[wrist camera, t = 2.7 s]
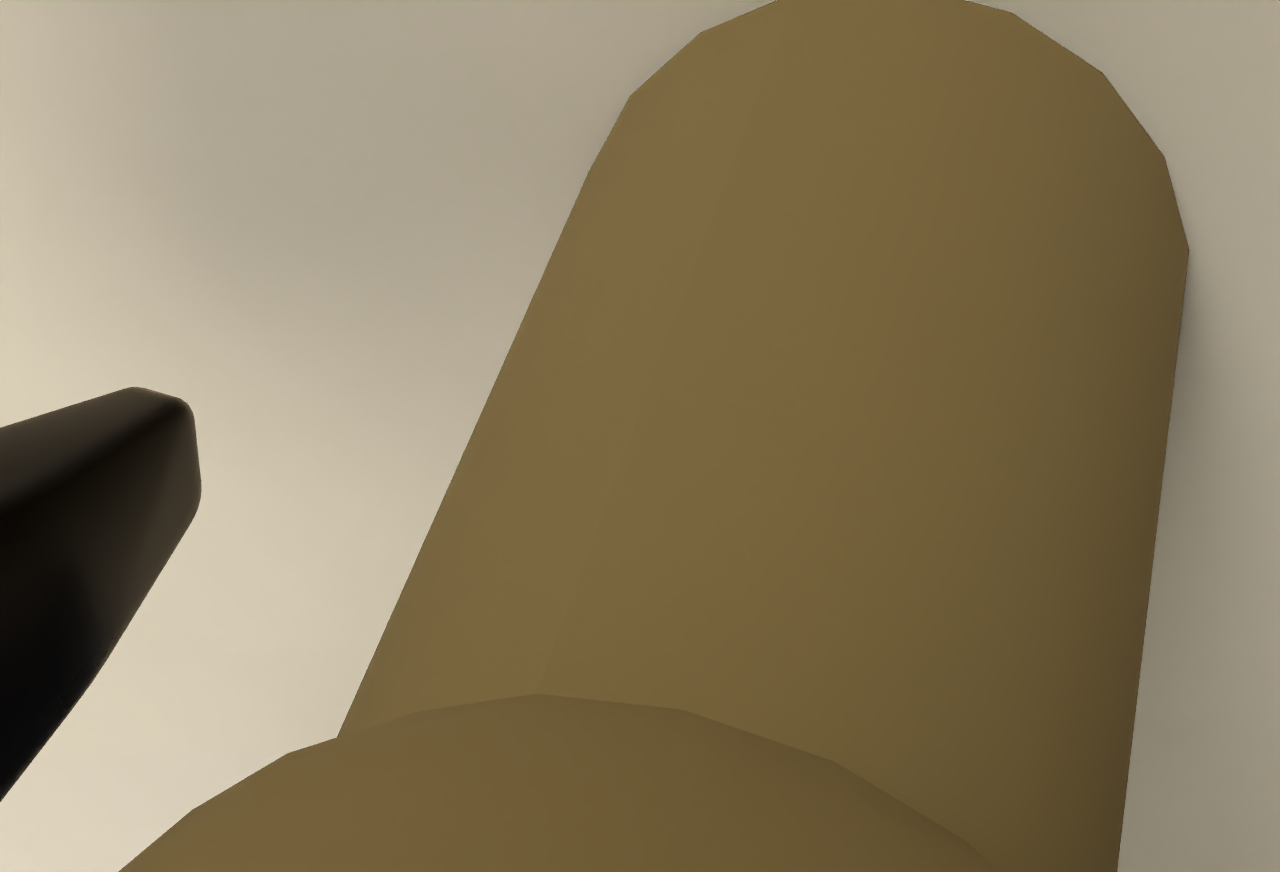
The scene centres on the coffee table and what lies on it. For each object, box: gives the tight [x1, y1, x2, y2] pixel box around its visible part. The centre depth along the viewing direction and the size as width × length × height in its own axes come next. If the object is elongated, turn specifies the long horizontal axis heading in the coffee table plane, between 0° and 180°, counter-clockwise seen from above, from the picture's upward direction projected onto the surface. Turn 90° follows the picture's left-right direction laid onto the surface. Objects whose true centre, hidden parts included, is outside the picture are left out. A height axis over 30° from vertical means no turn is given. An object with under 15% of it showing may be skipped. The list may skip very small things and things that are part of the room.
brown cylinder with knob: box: [119, 0, 1189, 872], centre depth 8 cm, size 6×6×11 cm
